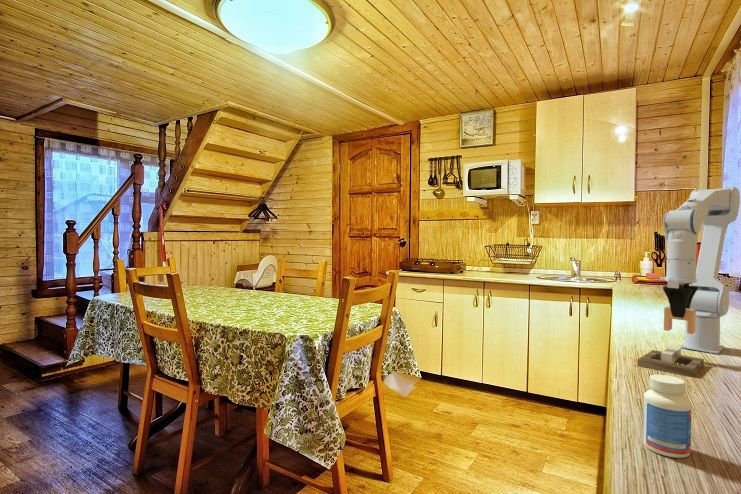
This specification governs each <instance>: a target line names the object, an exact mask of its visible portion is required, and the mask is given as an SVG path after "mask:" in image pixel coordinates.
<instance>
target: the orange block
mask: <svg viewBox="0 0 741 494" xmlns="http://www.w3.org/2000/svg"><path fill="white" fill-rule="evenodd" d="M663 309H664V311H663V331H668V332H669V331H671V330H673V320H679V321H684V322H685V321H687V333H688V334H693V333H695V323H696V309H687V308H686V311H685V315H684V317H683V318H681V317H673V316H672V313H671V309H670V305H669V306H665V307H663Z"/></svg>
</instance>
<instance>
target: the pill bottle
mask: <svg viewBox="0 0 741 494" xmlns="http://www.w3.org/2000/svg"><path fill="white" fill-rule="evenodd" d="M649 387H650V388H651V389H648V390H647V391H645V392H644V394H643V410H642V411H643V413H642V414H643V418H642V420H643V421H642V422H643V423H642V424H643V425H642V429H643V430H642V442H643V445H644V446H645V448H647V449H648V450H650V451H651V452H654V453H655V454H659V455H661V456H665V457H669V458H674V459H675V458H676V459H683V458H687V457H689V456H690V455H691V451H692V403H691V402H692V401H691V400H690V399H689V398H688V397H687V396H686V395H684V394H685V392H686V381H685V380H684V379H682V378H679V377H677V376H672V375H667V374H666V375H665V374H652V375H650V376H649Z"/></svg>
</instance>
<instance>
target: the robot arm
mask: <svg viewBox="0 0 741 494" xmlns="http://www.w3.org/2000/svg"><path fill="white" fill-rule="evenodd" d="M740 195H741V194H740V190H739V189H738V187H736V186H731V187H720V188H718V187H717V188H709V189H708V188H707V189H706V188H704V189H693V190H692V191H691V192H690V194H689V198H687V199H686V201H684V202H683V203H682V204H681V205H680V206H679V207H678V208H677V209H674V210H669V211H668V212H666V213H665V214H664V216H663V219H662V220H663V221H662V225H663V226H662V227H663V231H664V240H665V241H666V272H665V273H666V274H665V275H666V276H660V278H659V279H660V280H661V281H666V282H667V285H664V286H662V290H663V292H664V293H665V296H666V297H667V300H668V303H669V304H668V305H669V307H670V309H671V313H672V316H673V317H681V318H683V317H684V315H685V311H686V308H687V309H696V323H695V333H693V334H688V333H687V321H685V320H684V342H683V343H682V344H681V345H680V346H679V348H681V349H686V350H693V351H698V352H699V351H700V352H704V353H711V354H716V355H717V354H720V352H722V351H723V350H724V349H725V346H724V345H721V343H720V342H721V341H720V340H721V317H722V318H723V317H724V316H726V315H727V314H728V311H729V306H730V297H729V296H730V292H729V289H728V287H727V286H726V285H725V284H724V283H722V282H721V281H719V280H718V277H719V272H720V268H721V267H720V266H721V261H722V260H721V259H722V256H723V251H724V250H723V249H724V244H725V237H726V232H727V230H728V226H729V225H730V224H731V223H733V222H735V221H737V218H738V215H739V211H740V204H741V196H740ZM702 225H703V232H702V237H701V241H700V249H699V252H698V253H699V254H698V259H697V248H698V247H697V246H698V245H697V244H698V242H697V241H698V234H699V233H700V232H701V229H702Z"/></svg>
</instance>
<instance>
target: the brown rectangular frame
mask: <svg viewBox="0 0 741 494" xmlns="http://www.w3.org/2000/svg"><path fill="white" fill-rule="evenodd" d="M681 350H682V348H680V347H674V346H670V347H668V348H666V349H665V350H663V351H660V350H655V349H652V350H651V351H649V352H648V353H646V354H644V355H642V356H641V357H639V358H638V359H637V367H640V368H641V367H642V368H646V369H651V370H656V371H662V372H667V373H670V374H676V375H681V376H686V377H690V378H692V377H694V376H695V375H696V374H697V373H699V371H700V370H701V369H702V368H703V367H704V366H705V359H704V358H700V357H694V356H689V355H684V354H683V355H682V354H681V353H682V351H681ZM673 362H674V363H673ZM677 363H678V364H677ZM682 364H683V365H682Z"/></svg>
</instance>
